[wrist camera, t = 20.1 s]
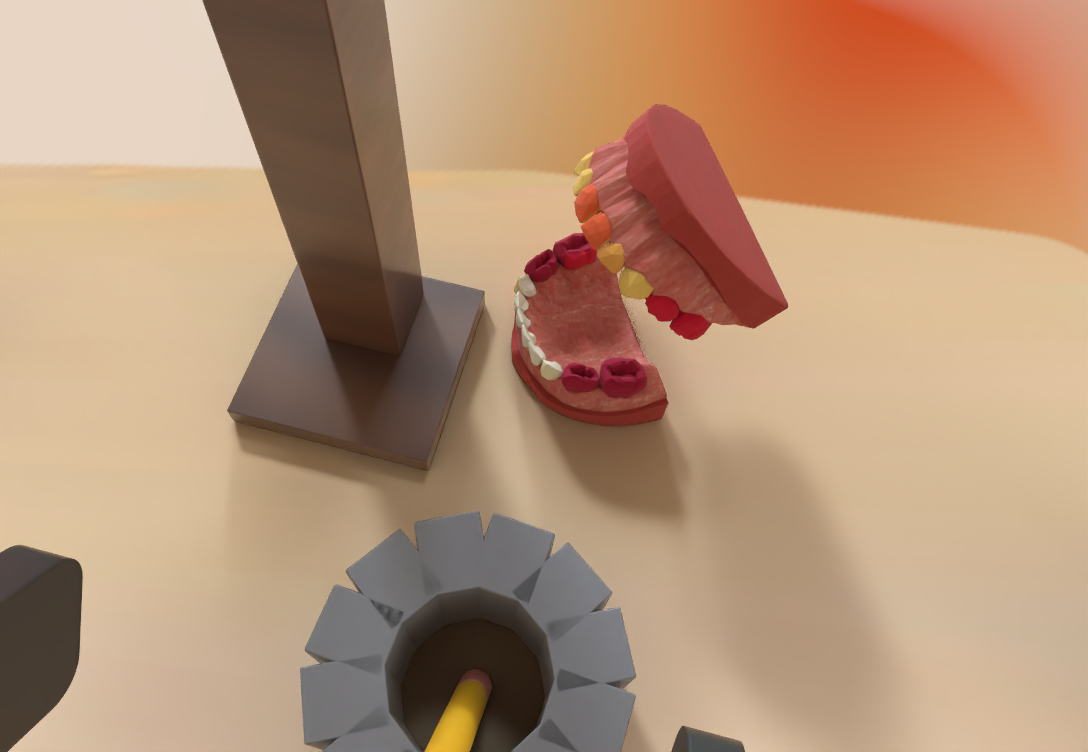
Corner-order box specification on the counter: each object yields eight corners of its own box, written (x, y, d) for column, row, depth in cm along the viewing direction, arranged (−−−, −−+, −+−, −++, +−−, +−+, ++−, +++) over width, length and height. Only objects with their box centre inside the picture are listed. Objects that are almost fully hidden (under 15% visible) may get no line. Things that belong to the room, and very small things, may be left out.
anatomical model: (456, 282, 44) (585, 59, 33) (578, 282, 48) (731, 84, 37) (513, 459, 40) (684, 272, 28) (642, 442, 44) (837, 274, 32)
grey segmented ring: (579, 533, 39) (593, 491, 33) (641, 816, 33) (669, 819, 28) (321, 579, 37) (292, 542, 32) (343, 884, 32) (313, 901, 26)
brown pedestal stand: (315, 246, 45) (22, -676, 17) (489, 288, 45) (485, -597, 16) (225, 439, 40) (-431, -451, 12) (422, 489, 39) (239, -320, 11)
